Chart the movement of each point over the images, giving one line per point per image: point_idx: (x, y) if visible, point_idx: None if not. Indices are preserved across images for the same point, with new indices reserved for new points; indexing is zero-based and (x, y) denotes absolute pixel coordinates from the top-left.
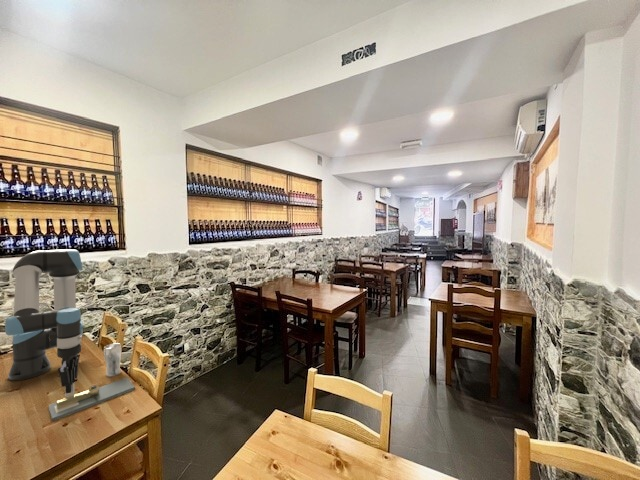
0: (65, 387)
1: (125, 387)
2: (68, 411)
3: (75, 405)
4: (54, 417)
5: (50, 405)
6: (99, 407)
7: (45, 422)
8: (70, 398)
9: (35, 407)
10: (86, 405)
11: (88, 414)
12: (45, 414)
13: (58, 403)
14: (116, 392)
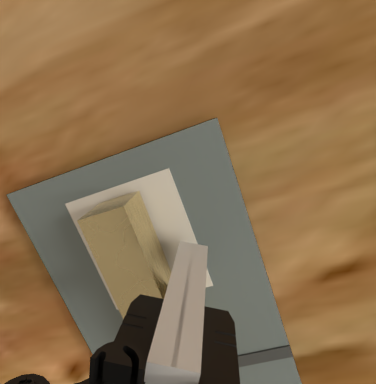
0: (154, 334)
1: None
2: (55, 267)
3: (109, 294)
4: (13, 206)
5: (200, 135)
6: (74, 379)
7: (23, 154)
8: (114, 300)
9: (286, 6)
10: (87, 343)
11: (25, 343)
12: (126, 124)
13: (84, 227)
14: None
